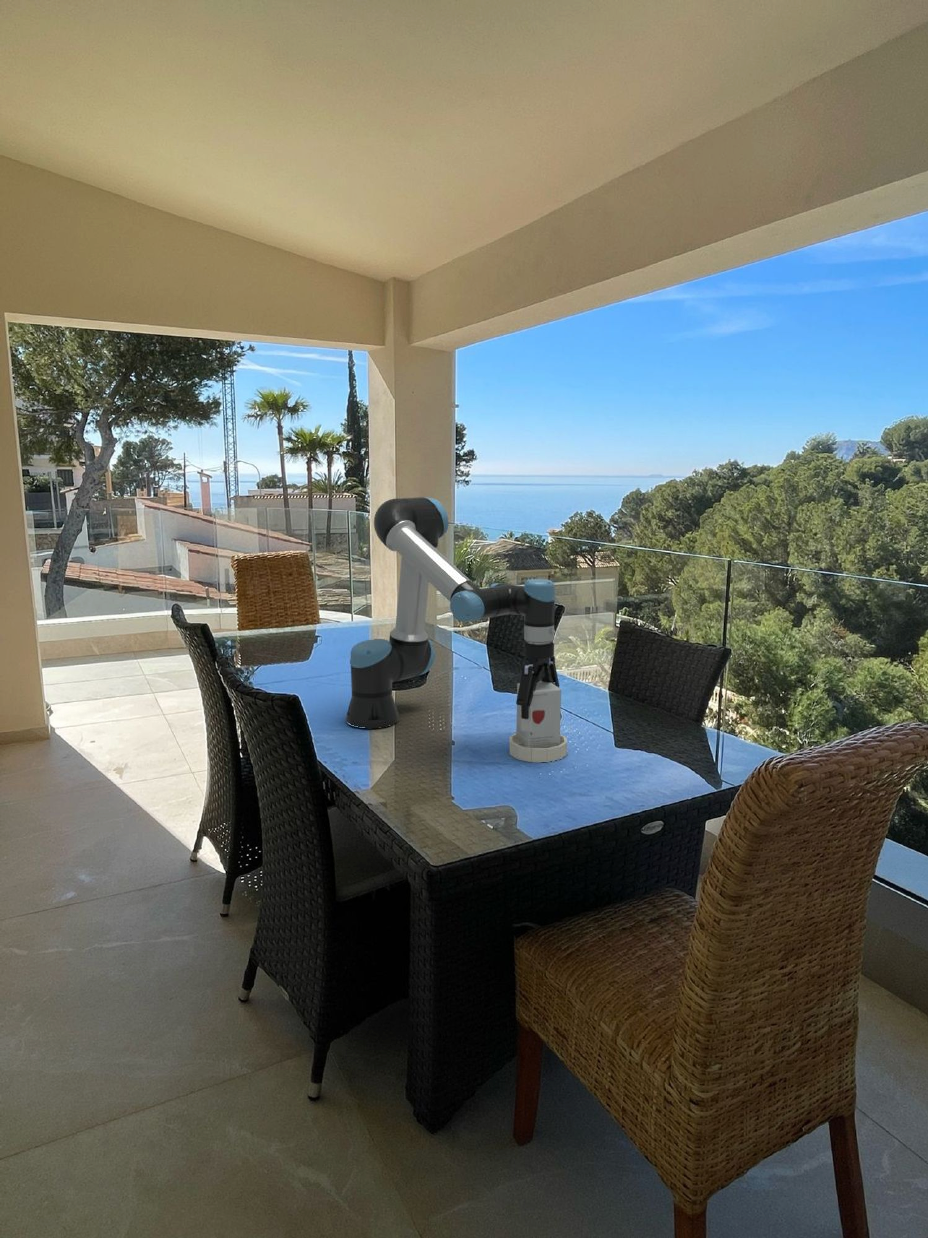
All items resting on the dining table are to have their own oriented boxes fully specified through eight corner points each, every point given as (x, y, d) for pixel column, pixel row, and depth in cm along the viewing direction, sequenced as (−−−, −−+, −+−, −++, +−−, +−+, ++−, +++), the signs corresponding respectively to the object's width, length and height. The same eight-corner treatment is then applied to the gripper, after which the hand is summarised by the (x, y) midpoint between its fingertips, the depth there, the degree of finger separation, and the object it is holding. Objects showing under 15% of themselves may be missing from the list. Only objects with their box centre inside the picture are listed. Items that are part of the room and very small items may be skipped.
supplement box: (527, 749, 193) (528, 691, 190) (515, 738, 201) (515, 682, 198) (561, 746, 195) (562, 688, 192) (548, 734, 204) (548, 679, 201)
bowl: (499, 755, 197) (499, 742, 196) (526, 739, 209) (526, 726, 208) (550, 766, 189) (551, 753, 188) (575, 748, 201) (575, 736, 200)
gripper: (529, 652, 181) (529, 739, 185) (573, 634, 201) (571, 713, 205) (502, 648, 185) (502, 734, 189) (547, 631, 205) (546, 709, 209)
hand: (538, 723), depth 197 cm, fingers closed on supplement box, 12 cm apart
